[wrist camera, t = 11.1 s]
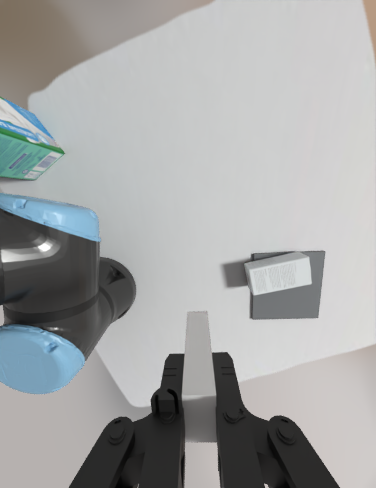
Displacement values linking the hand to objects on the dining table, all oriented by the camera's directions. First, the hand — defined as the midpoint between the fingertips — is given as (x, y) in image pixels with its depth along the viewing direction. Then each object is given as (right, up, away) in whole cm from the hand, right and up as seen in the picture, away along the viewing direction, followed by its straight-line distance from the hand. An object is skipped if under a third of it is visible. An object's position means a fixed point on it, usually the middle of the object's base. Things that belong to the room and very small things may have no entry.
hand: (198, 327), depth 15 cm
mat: (+22, -3, +30) cm, 37 cm away
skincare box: (+12, -1, +27) cm, 30 cm away
